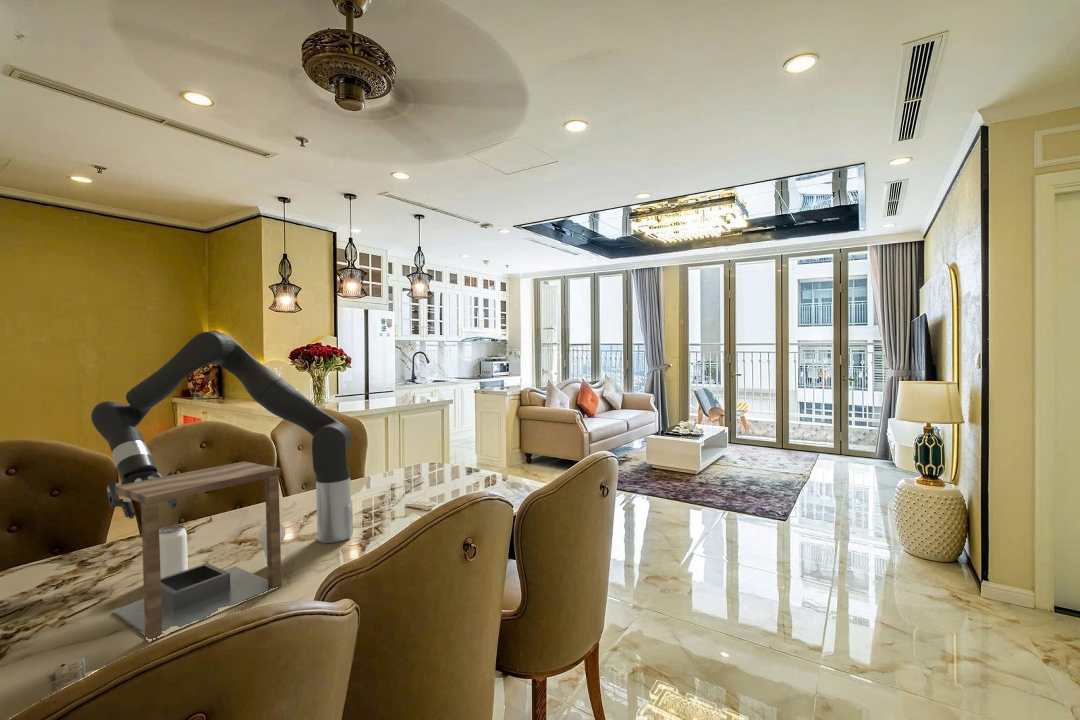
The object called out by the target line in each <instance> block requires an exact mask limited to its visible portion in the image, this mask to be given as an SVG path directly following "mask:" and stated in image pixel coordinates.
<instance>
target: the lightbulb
mask: <svg viewBox="0 0 1080 720" xmlns="http://www.w3.org/2000/svg"><path fill="white" fill-rule="evenodd" d="M285 535H286V529H285V527H284V526H283V524H281V523H280V546H281V544H282V542H283V541H284V538H285V537H286V536H285ZM257 540H258V543H259V544H260V546H261V547H262V548H263V551H264V557H265V559H266V563H267V531H266V523H265V524H264V525H263V526H262V527H261V528H260V529H259V531H258V532H257Z"/></svg>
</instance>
